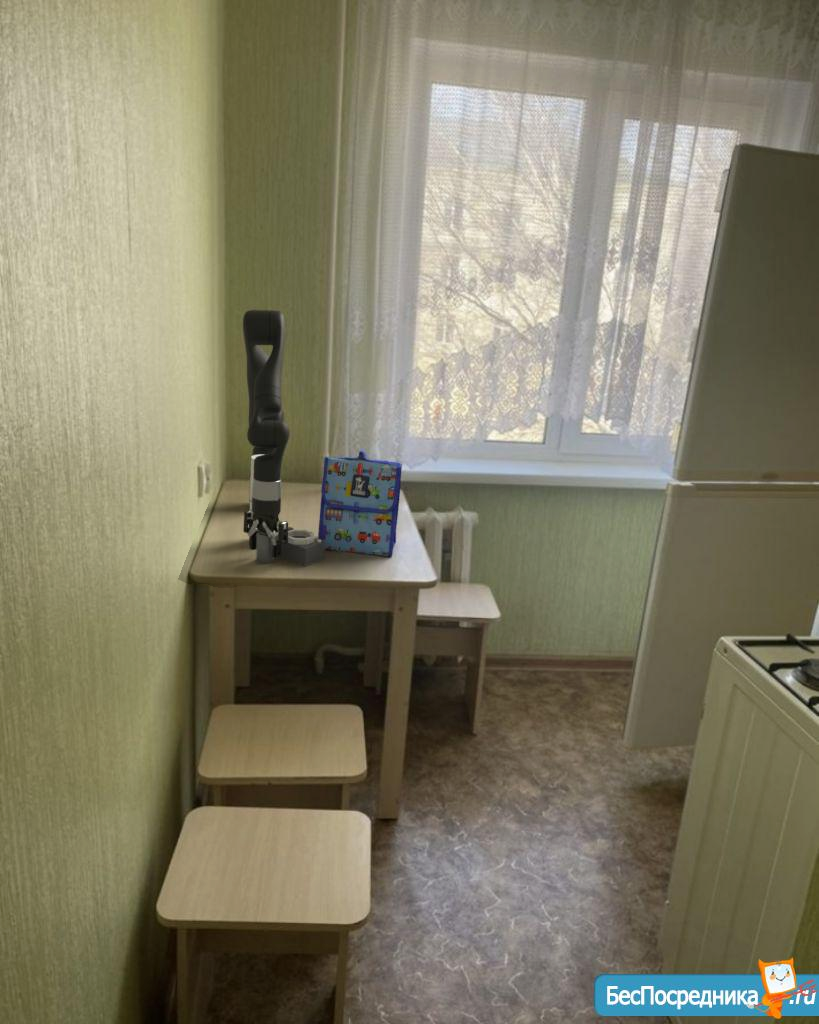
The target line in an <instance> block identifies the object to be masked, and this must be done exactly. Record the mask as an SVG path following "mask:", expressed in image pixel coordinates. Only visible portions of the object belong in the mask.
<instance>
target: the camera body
mask: <svg viewBox="0 0 819 1024" xmlns="http://www.w3.org/2000/svg"><path fill="white" fill-rule="evenodd" d="M275 538H276V536H275ZM276 540H277V538H276ZM325 554H326V549H325V542H324V541H321V540H320V539H318V538H315V533H314V532H313V531H309V530H307V529H294V527H291V526H288V543H285V544H282V545H281V555H280V556H279V557H278V558H282V559H284V560H286V561H290V562H292V563H295V564H298V565H301V566H303V567H306V566H309V565H312V564H315V563H317V562H319V561H323V560H325V557H326V556H325Z"/></svg>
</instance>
